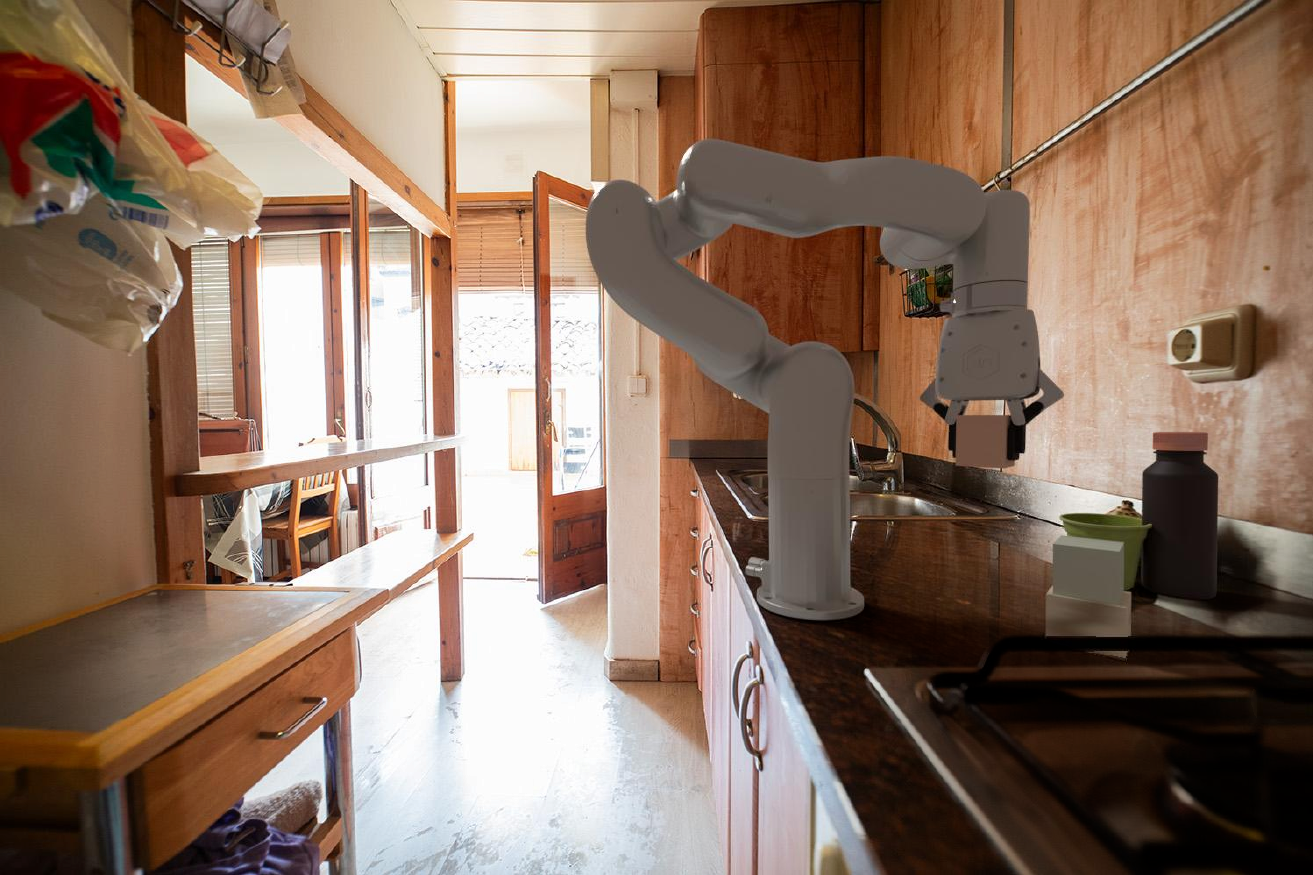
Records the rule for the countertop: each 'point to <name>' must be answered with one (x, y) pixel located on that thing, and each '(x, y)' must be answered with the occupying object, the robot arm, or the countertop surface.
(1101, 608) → the tower base
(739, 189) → the robot arm
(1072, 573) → the tower top
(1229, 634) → the countertop surface
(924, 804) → the countertop surface
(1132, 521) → the plant pot
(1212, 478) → the bottle
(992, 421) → the block
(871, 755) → the countertop surface
